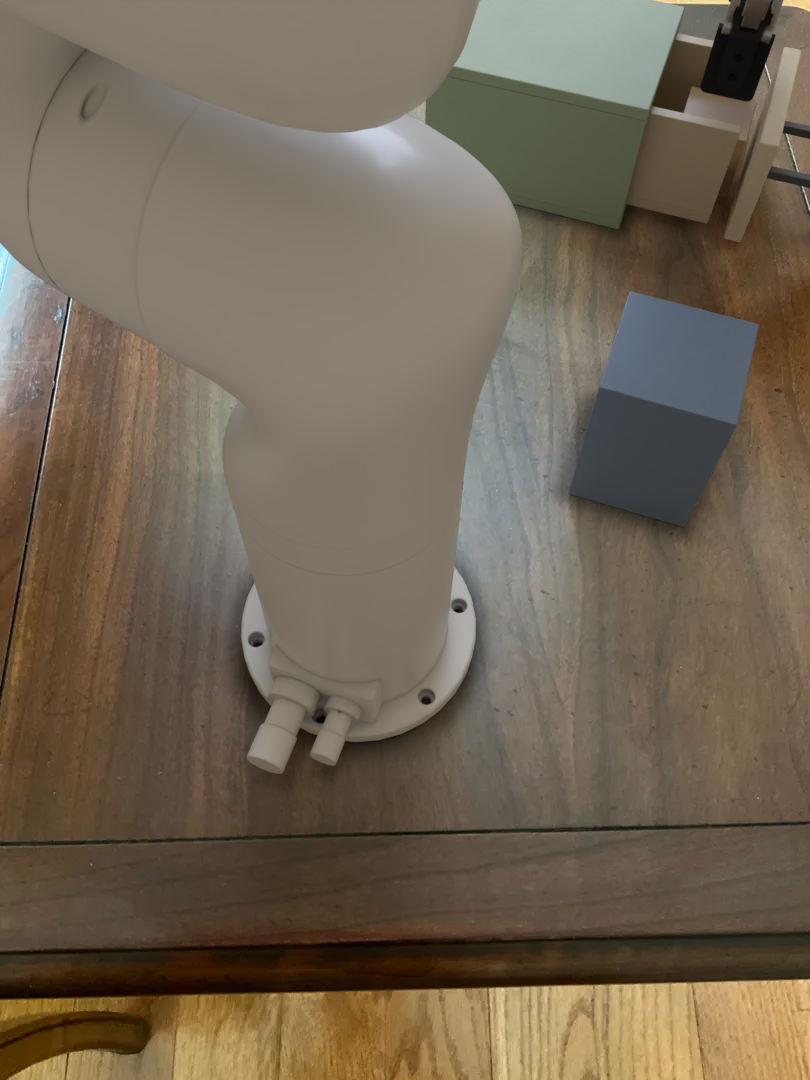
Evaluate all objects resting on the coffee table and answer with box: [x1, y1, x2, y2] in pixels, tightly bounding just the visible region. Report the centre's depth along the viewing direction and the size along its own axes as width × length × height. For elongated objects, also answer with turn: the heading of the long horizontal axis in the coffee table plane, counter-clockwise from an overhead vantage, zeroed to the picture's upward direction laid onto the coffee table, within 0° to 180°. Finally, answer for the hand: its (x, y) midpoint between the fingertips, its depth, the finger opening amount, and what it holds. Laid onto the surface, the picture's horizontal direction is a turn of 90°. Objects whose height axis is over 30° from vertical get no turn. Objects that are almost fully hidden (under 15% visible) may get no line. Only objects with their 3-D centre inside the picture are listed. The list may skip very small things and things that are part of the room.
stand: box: [568, 290, 760, 528], centre depth 54 cm, size 7×7×10 cm
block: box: [683, 86, 758, 197], centre depth 67 cm, size 4×4×4 cm
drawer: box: [626, 32, 810, 243], centre depth 66 cm, size 19×10×8 cm, turn 71°
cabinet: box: [424, 0, 686, 230], centre depth 68 cm, size 15×12×10 cm
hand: (739, 47), depth 61 cm, fingers open, 9 cm apart
